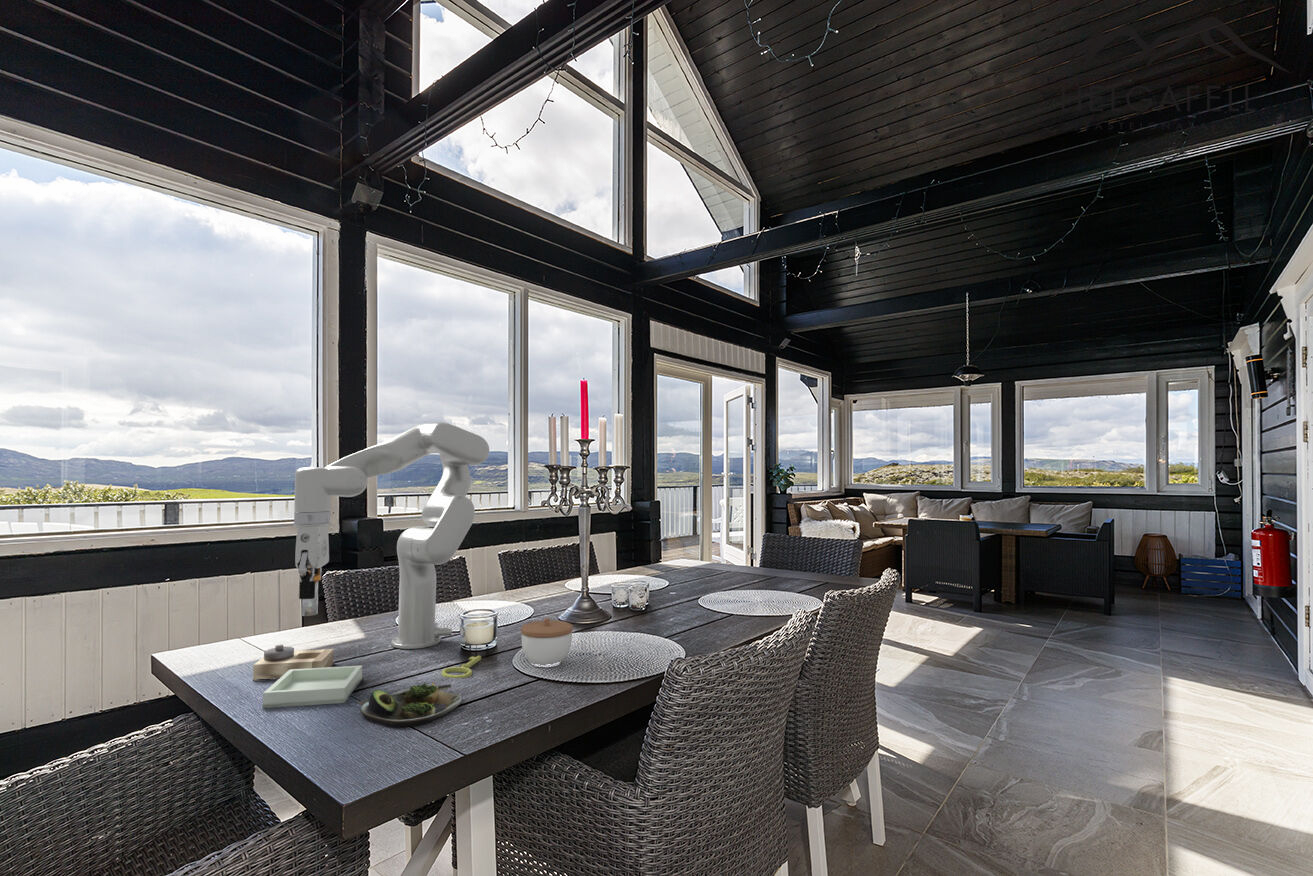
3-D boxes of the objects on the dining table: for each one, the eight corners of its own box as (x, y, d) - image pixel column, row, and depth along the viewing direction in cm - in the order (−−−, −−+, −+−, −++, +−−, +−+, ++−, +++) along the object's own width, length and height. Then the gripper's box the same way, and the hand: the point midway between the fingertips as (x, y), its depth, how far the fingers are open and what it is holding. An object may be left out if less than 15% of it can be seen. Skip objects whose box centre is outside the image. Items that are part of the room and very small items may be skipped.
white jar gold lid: (322, 611, 151) (323, 574, 152) (316, 615, 147) (317, 577, 148) (303, 612, 150) (304, 574, 151) (297, 616, 146) (298, 577, 147)
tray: (361, 678, 143) (362, 665, 143) (344, 702, 128) (344, 687, 128) (289, 683, 139) (289, 669, 140) (262, 708, 125) (263, 693, 125)
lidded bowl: (537, 675, 146) (537, 627, 147) (510, 662, 156) (511, 617, 156) (582, 664, 155) (582, 619, 155) (554, 653, 164) (555, 610, 165)
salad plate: (423, 686, 139) (424, 665, 139) (483, 701, 131) (484, 678, 131) (343, 716, 122) (344, 692, 122) (406, 735, 114) (407, 709, 114)
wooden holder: (333, 663, 154) (334, 637, 154) (321, 676, 144) (321, 649, 144) (269, 666, 151) (270, 640, 151) (252, 680, 141) (254, 652, 141)
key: (481, 663, 156) (481, 654, 156) (469, 680, 144) (469, 670, 144) (452, 663, 156) (452, 655, 156) (437, 680, 144) (437, 671, 144)
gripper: (318, 522, 142) (316, 603, 142) (338, 516, 159) (337, 589, 158) (282, 522, 141) (279, 605, 140) (306, 516, 157) (304, 590, 156)
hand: (310, 595), depth 149 cm, fingers closed on white jar gold lid, 4 cm apart
